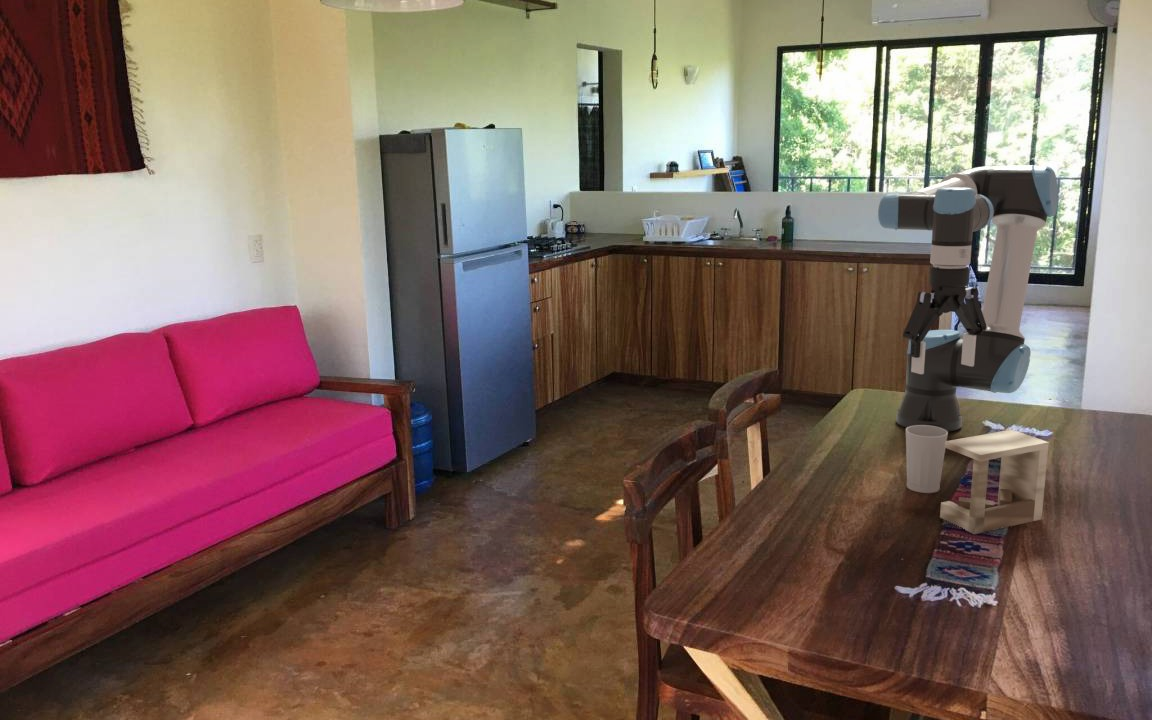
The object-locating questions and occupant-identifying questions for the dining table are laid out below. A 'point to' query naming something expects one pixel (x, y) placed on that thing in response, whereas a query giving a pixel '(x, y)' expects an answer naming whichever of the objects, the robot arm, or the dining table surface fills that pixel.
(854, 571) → the dining table surface
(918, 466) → the cup
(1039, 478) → the shelf
